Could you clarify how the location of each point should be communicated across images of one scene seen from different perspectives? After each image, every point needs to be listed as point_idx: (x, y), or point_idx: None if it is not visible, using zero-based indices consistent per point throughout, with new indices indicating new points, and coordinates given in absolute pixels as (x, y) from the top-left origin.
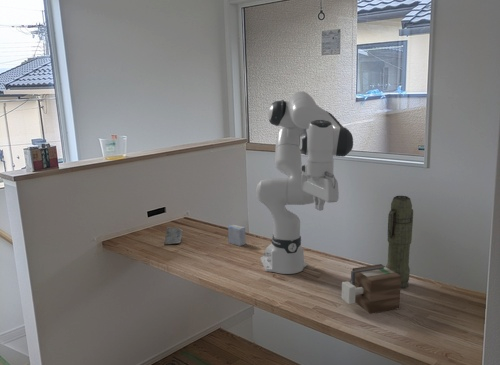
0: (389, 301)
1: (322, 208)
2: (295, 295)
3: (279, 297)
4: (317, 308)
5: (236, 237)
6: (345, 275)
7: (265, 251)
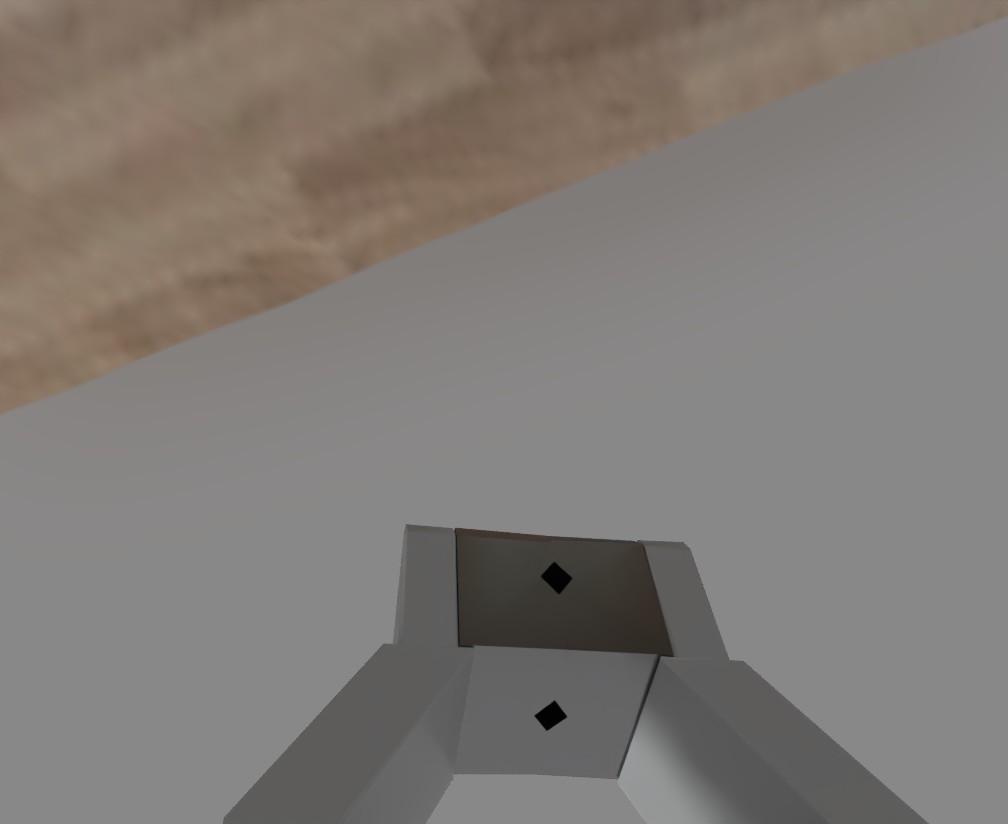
0: None
1: (687, 594)
2: (229, 64)
3: (223, 198)
4: (511, 34)
5: None
6: None
7: None
